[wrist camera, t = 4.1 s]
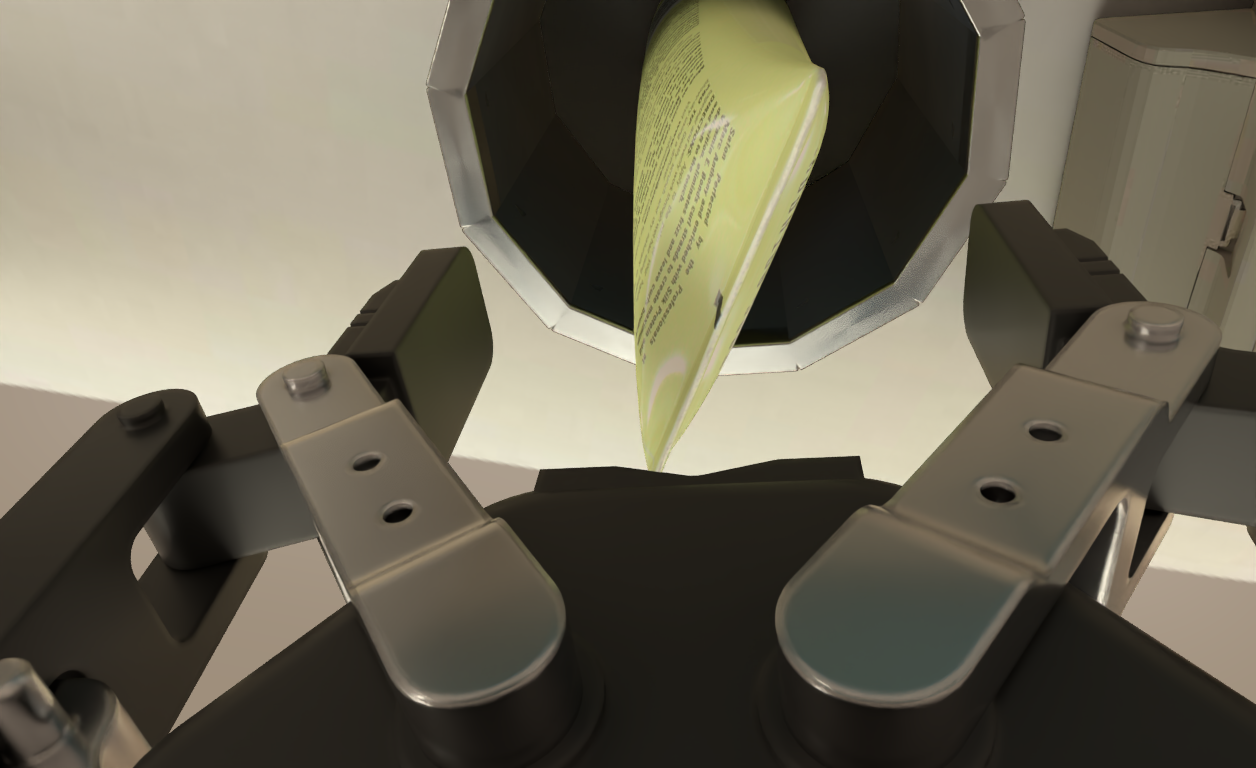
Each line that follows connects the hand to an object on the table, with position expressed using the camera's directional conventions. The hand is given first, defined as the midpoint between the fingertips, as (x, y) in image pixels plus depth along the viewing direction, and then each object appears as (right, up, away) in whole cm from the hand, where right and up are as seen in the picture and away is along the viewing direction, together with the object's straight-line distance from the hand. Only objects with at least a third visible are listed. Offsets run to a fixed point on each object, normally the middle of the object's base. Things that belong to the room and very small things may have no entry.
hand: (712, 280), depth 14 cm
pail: (+2, +10, +15) cm, 18 cm away
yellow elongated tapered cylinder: (+2, +10, +16) cm, 19 cm away
